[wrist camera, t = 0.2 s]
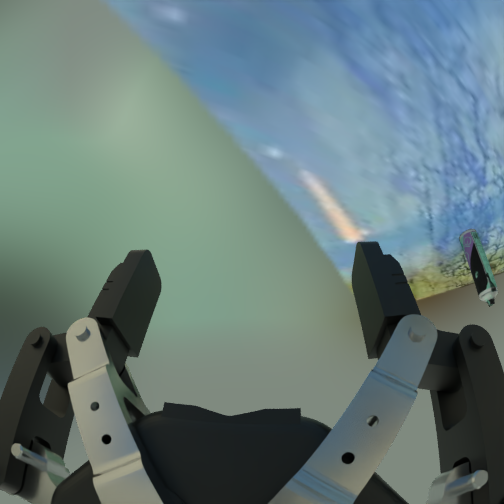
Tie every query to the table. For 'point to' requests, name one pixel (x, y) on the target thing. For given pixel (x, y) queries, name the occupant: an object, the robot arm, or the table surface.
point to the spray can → (479, 266)
